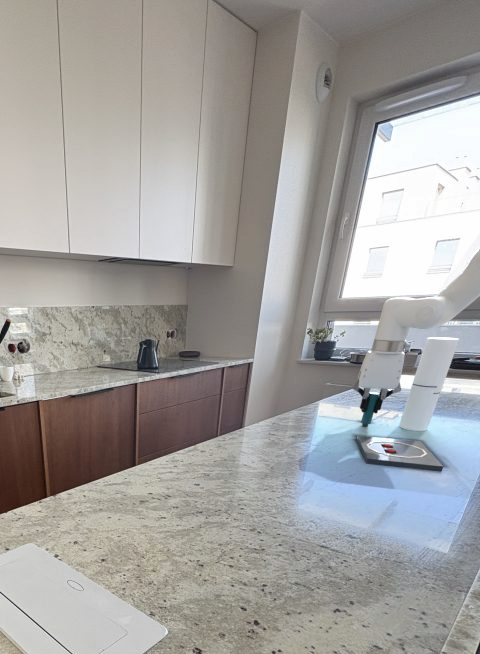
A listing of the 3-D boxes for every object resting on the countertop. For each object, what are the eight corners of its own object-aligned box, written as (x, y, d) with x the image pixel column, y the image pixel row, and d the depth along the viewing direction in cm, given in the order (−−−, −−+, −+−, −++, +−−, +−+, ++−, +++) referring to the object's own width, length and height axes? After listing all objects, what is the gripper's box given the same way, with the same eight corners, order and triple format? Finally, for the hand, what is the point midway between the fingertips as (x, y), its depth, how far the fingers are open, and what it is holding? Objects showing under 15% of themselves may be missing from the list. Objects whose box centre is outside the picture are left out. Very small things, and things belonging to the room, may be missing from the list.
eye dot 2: (392, 453, 105) (394, 449, 105) (394, 456, 104) (395, 451, 103) (384, 453, 106) (386, 448, 105) (385, 455, 104) (387, 450, 104)
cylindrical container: (394, 423, 131) (422, 337, 119) (420, 424, 129) (450, 337, 118) (404, 430, 124) (434, 339, 113) (432, 431, 123) (465, 339, 112)
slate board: (419, 445, 112) (420, 440, 111) (441, 471, 96) (443, 466, 95) (355, 439, 117) (356, 435, 117) (366, 463, 101) (367, 458, 100)
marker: (368, 425, 129) (378, 392, 125) (370, 427, 127) (380, 394, 123) (359, 424, 130) (368, 392, 126) (360, 427, 128) (369, 393, 124)
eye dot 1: (389, 448, 109) (390, 444, 108) (390, 450, 107) (392, 446, 107) (381, 447, 110) (382, 443, 109) (382, 449, 108) (384, 445, 108)
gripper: (418, 346, 119) (397, 411, 127) (353, 344, 124) (337, 407, 133) (425, 349, 113) (402, 417, 121) (357, 347, 118) (340, 412, 126)
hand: (369, 411), depth 127 cm, fingers closed on marker, 2 cm apart
